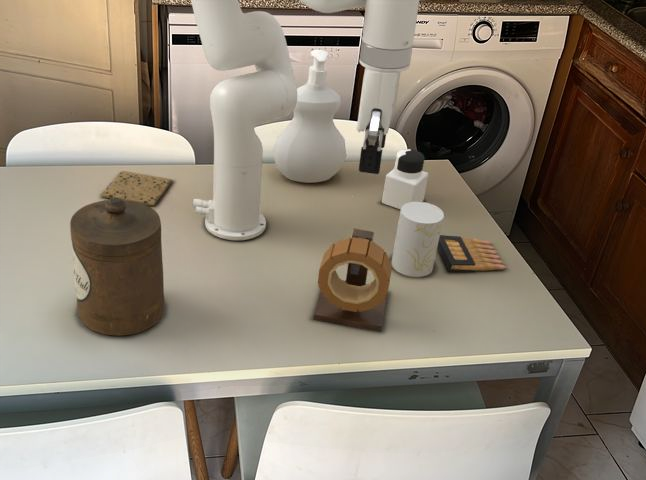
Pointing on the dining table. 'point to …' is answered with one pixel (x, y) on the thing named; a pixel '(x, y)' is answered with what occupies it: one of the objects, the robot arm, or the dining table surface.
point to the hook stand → (349, 318)
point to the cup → (417, 238)
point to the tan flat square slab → (137, 188)
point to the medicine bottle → (405, 180)
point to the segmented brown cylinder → (351, 294)
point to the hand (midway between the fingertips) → (371, 159)
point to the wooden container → (118, 266)
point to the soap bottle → (312, 131)
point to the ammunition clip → (468, 254)
